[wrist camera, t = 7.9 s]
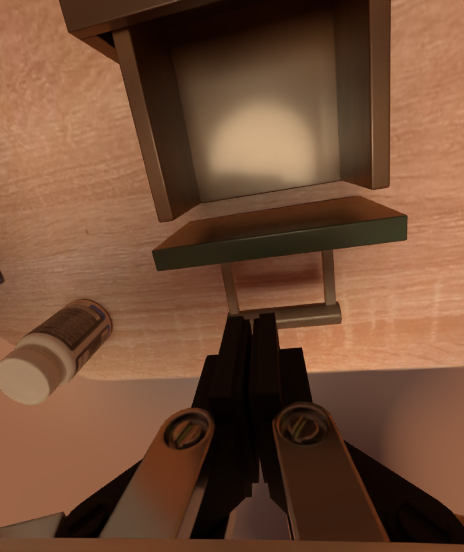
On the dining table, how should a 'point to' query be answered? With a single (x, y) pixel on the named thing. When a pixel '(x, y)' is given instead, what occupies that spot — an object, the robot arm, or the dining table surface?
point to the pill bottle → (54, 352)
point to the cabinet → (115, 18)
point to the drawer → (264, 131)
